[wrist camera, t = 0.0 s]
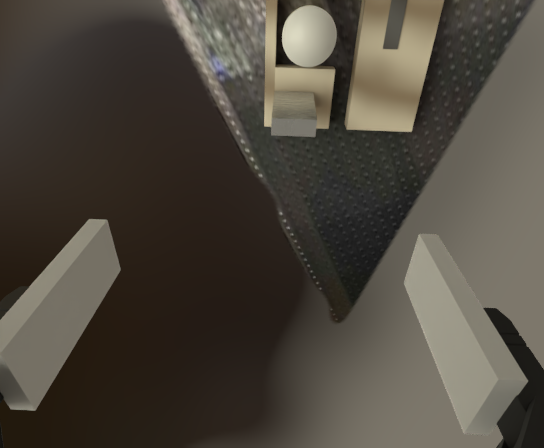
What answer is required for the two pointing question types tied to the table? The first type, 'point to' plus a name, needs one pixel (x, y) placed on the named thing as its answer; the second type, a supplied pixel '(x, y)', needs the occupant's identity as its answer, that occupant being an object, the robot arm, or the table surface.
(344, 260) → the table surface
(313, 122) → the toggle lever
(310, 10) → the white egg
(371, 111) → the beige flat pieces
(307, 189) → the table surface
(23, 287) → the robot arm
